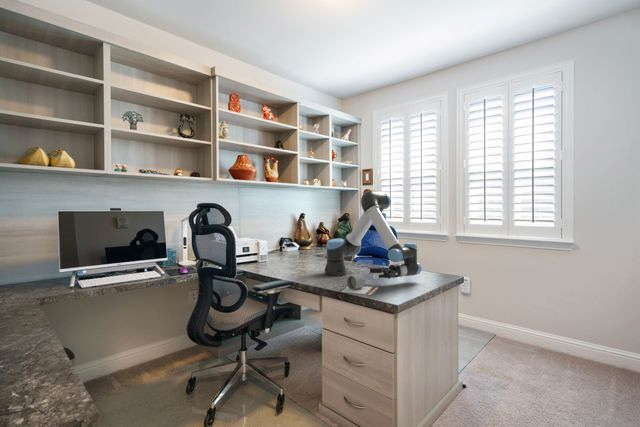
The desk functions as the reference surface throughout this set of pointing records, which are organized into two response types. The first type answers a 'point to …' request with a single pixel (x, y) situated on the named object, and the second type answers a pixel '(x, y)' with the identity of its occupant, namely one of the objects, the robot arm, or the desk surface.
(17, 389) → the desk surface
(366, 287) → the pad
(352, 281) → the ceramic mug
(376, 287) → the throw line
